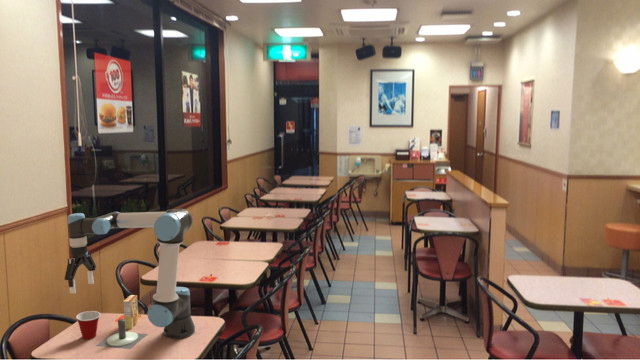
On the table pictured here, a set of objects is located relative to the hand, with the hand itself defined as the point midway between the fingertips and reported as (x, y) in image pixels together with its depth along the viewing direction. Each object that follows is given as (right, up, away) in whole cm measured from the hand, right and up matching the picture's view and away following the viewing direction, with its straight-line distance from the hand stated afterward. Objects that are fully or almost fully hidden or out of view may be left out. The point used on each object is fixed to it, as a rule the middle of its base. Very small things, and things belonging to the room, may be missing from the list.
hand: (82, 288), depth 241 cm
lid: (+20, -25, -1) cm, 32 cm away
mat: (+20, -26, -1) cm, 32 cm away
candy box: (+18, -24, +16) cm, 34 cm away
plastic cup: (+2, -25, +3) cm, 26 cm away
